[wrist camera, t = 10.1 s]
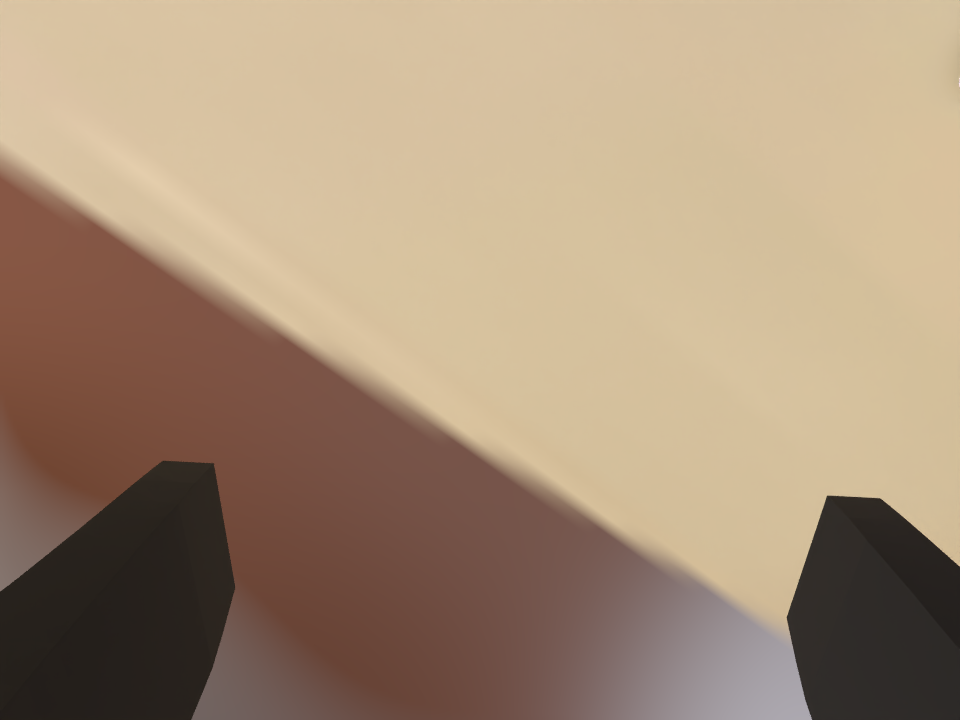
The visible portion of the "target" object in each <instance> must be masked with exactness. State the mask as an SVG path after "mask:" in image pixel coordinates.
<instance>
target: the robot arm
mask: <svg viewBox="0 0 960 720" xmlns="http://www.w3.org/2000/svg"><path fill="white" fill-rule="evenodd" d="M959 86H960V80H959ZM234 590H235V583H234V578H233V572H232V566H231V560H230V554H229V549H228V543H227V537H226V532H225V526H224V520H223V515H222V508H221V503H220V497H219V491H218V485H217V480H216V474H215V468H214V464H213V463H194V462H175V461H162V462H161V463H159V464H158V465H157V466H156V467H154V468H153V469H152V470H150V471H149V472H148V473H147V474H145V475H144V476H143V477H142V478H140V479H139V480H138V481H137V482H136V483H134V484H133V485H132V486H131V487H130V488H128V489H127V490H126V491H125V492H123V493H122V494H121V495H120V496H119V497H117V498H116V499H115V500H114V501H113V502H111V503H110V504H109V505H108V506H107V507H105V508H104V509H103V510H102V511H100V512H99V513H98V514H97V515H96V516H94V517H93V518H92V519H91V520H90V521H88V522H87V523H86V524H85V525H84V526H82V527H81V528H80V529H79V530H77V531H76V532H75V533H74V534H72V535H71V536H70V537H69V538H67V539H66V540H65V541H64V542H62V544H60V545H59V546H57V548H55V549H54V550H53V551H51V552H50V553H49V554H48V555H46V556H45V557H44V558H43V559H41V560H40V561H39V562H38V563H36V564H35V565H34V566H33V567H31V568H30V569H29V570H28V571H26V572H25V573H24V574H23V575H21V576H20V577H19V578H18V579H16V580H15V581H14V582H12V583H11V584H10V585H9V586H7V587H6V588H5V589H3V590H2V591H0V720H191V719H192V716H193V713H194V711H195V709H196V707H197V704H198V702H199V699H200V697H201V695H202V692H203V690H204V687H205V685H206V682H207V680H208V677H209V675H210V672H211V670H212V667H213V664H214V661H215V657H216V654H217V651H218V647H219V643H220V641H221V637H222V634H223V631H224V627H225V623H226V619H227V615H228V612H229V608H230V604H231V601H232V597H233V593H234ZM787 621H788V626H789V631H790V635H791V640H792V645H793V649H794V654H795V659H796V663H797V667H798V671H799V675H800V679H801V684H802V687H803V691H804V696H805V700H806V703H807V706H808V709H809V712H810V715H811V717H812V720H960V567H959V566H958V565H957V564H956V563H955V562H954V561H953V560H951V559H950V558H949V557H948V556H947V555H946V554H945V553H944V552H942V551H941V550H940V549H939V548H938V547H937V546H936V545H935V544H933V543H932V542H931V541H930V540H929V539H928V538H927V537H925V536H924V535H923V534H922V533H921V532H920V531H919V530H917V529H916V528H915V527H914V526H913V525H912V524H911V523H909V522H908V521H907V520H906V519H905V518H904V517H902V516H901V515H900V514H899V513H898V512H896V511H895V510H894V509H893V508H891V507H890V506H889V505H888V504H887V503H885V502H884V501H883V500H882V499H880V498H863V497H844V496H827V498H826V501H825V504H824V507H823V510H822V513H821V516H820V519H819V522H818V525H817V528H816V531H815V534H814V537H813V540H812V543H811V546H810V549H809V552H808V555H807V558H806V561H805V564H804V567H803V570H802V573H801V576H800V579H799V582H798V585H797V588H796V591H795V594H794V597H793V600H792V603H791V606H790V609H789V612H788V615H787Z"/></svg>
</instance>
